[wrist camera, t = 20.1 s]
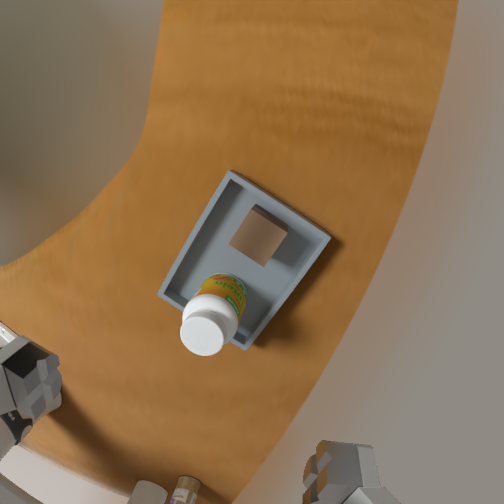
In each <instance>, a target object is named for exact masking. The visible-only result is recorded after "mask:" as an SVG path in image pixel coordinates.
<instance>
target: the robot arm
mask: <svg viewBox="0 0 504 504" xmlns="http://www.w3.org/2000/svg"><path fill="white" fill-rule="evenodd" d="M59 365H60V363H59V358H58V356H57V355H56V354H54V353H52V352H51V351H49V350H47V349H45V348H44V347H42V346H40V345H39V344H37V343H35V342H34V341H32V340H30V339H28V338H27V337H25V336H24V335H22V336H18V335H16V334H15V333H14V332H13V331H11V330H10V329H9V328H8V327H6V326H5V325H4V324H3V323H1V322H0V461H1V459H2V458H3V457H4V456H5V455H6V454H7V452H8V451H9V450H10V449H11V448H12V447H13V445H17V444H18V443H19V442H20V441H21V440H23V439H24V438H25V437H26V435H27V434H28V433H29V432H30V431H31V429H32V427H33V425H34V424H35V423H36V422H37V421H38V420H40V419H41V418H42V417H43V416H45V415H46V414H48V413H49V412H51V411H53V410H54V409H57V408H58V407H60V405H61V402H62V398H61V393H60V389H61V387H62V376H61V374H60V372H59V370H58V369H57V367H58V366H59ZM303 484H304V485H305V487H306V488H307V490H306V492H305V493H304V494H303V503H302V504H401V503H400V502H399V501H398V500H397V499H396V498H395V497H394V496H393V495H392V494H391V493H390V492H389V491H388V490H387V489H386V488H385V487H380V481H379V476H378V471H377V466H376V461H375V456H374V451H373V447H372V446H371V445H363V444H353V443H344V442H335V441H326V440H322V441H321V442H320V443H319V444H318V446H317V447H316V454H314V455H312V456H311V457H310V458H309V460H308V462H307V464H306V467H305V470H304V475H303ZM0 504H43V503H42V502H40V501H38V500H37V499H35V498H34V497H32V496H31V495H29V494H28V493H27V492H25V491H24V490H22V489H21V488H19V487H18V486H17V485H15V484H14V483H13V482H11V481H10V480H9V479H7V478H6V477H5V476H3V475H2V474H1V473H0Z"/></svg>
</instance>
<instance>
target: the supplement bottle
mask: <svg viewBox="0 0 504 504" xmlns="http://www.w3.org/2000/svg"><path fill="white" fill-rule="evenodd" d="M246 302H247V292H246V289H245V287H244V285H243V283H242V282H241V281H240V280H239V279H238V278H237V277H235V276H233V275H231V274H228V273H216V274H213V275H211V276H209V277H208V278H207V279H206V280H205V281H204V282H203V283H202V285H201V286H200V287H199V289H198V290H197V291H196V293H195V294H194V296H193V297H192V298H191V300H190V301H189V302H188V303H187V305H186V307H185V309H184V311H183V317H182V321H183V324H182V326H181V330H180V336H181V340H182V342H183V344H184V345H185V346H186V347H187V348H188V349H189V350H190V351H191V352H193V353H195V354H198V355H202V356H209V355H213V354H215V353H217V352H218V351H220V350H221V348H222V347H223V345H224V344H226V343H227V342H229V341H230V340H231V339H232V338H233V337H234V335H235V333H236V331H237V329H238V326H239V323H240V320H241V317H242V314H243V311H244V308H245V305H246Z"/></svg>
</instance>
